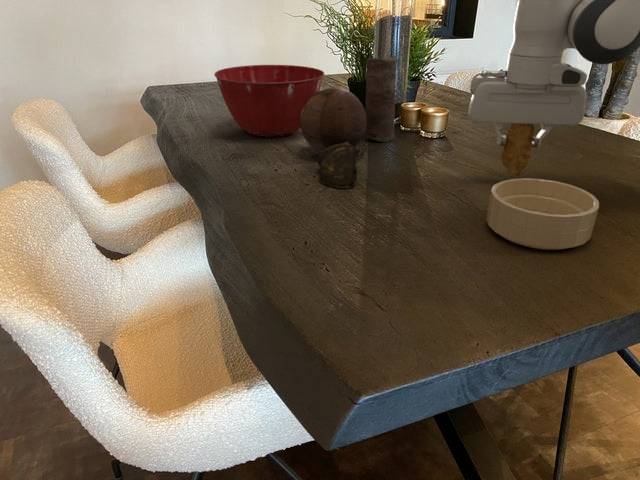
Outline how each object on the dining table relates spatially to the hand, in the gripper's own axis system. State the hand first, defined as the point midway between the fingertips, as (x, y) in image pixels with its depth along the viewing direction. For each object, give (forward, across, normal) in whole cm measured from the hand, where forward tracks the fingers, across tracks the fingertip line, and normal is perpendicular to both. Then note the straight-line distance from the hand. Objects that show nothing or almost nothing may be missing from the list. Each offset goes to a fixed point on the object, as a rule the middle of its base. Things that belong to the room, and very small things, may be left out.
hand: (518, 146), depth 95 cm
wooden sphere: (+8, -38, +13) cm, 41 cm away
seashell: (+8, -35, -1) cm, 36 cm away
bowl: (+7, 0, -22) cm, 23 cm away
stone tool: (+6, 0, 0) cm, 6 cm away
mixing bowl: (+8, -57, +31) cm, 65 cm away
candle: (+8, -28, +27) cm, 40 cm away
